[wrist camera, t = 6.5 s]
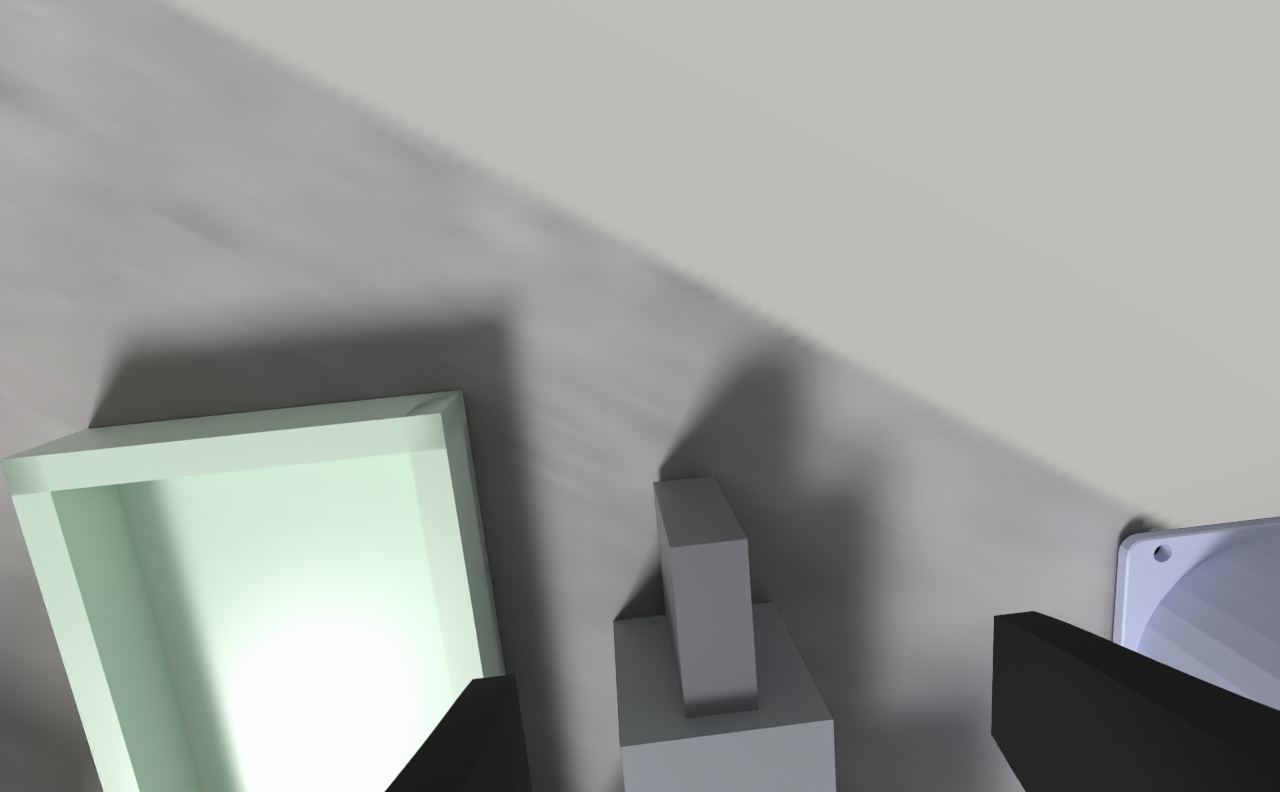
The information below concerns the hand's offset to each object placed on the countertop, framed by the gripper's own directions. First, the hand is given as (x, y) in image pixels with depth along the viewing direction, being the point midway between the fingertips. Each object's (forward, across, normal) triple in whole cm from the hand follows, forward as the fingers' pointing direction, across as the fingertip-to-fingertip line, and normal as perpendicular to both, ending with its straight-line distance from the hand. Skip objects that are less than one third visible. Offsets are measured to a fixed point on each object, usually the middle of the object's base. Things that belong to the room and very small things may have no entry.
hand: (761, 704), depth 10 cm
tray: (+8, +10, +4) cm, 14 cm away
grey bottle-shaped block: (+8, 0, +5) cm, 10 cm away
